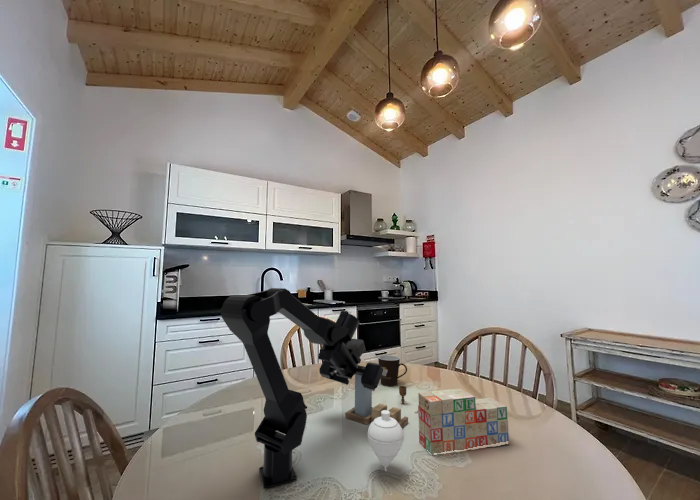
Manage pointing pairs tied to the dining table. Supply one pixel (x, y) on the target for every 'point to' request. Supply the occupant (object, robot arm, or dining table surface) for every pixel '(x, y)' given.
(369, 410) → the batten
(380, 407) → the oak offcut
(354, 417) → the rack
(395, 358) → the coffee mug
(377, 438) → the spinning top
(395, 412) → the oak offcut
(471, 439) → the stack of blocks
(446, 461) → the dining table surface
